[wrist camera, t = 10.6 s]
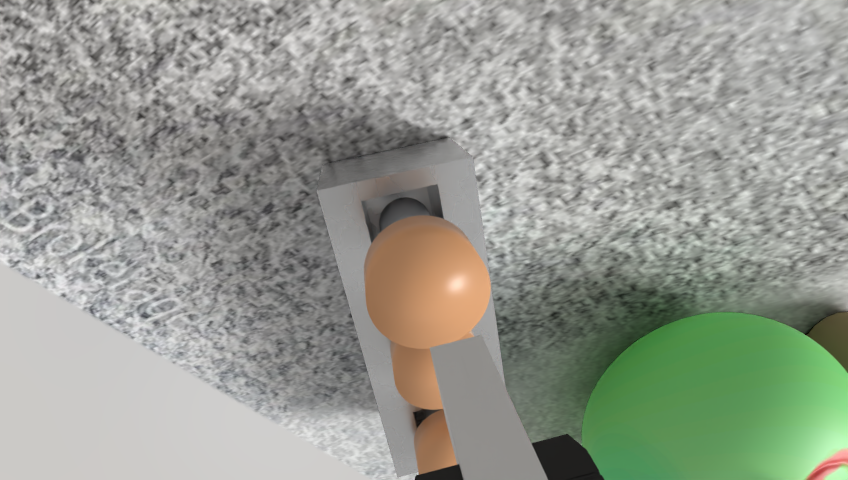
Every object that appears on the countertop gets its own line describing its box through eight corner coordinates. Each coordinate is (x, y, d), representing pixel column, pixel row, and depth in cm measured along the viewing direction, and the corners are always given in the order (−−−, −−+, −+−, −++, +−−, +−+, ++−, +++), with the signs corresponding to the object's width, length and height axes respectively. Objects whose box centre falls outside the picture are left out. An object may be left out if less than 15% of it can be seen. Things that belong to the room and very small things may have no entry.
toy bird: (702, 237, 35) (925, 354, 21) (784, 366, 41) (998, 520, 28) (513, 384, 37) (607, 572, 24) (618, 485, 44) (739, 680, 30)
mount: (322, 164, 29) (316, 190, 23) (449, 137, 29) (473, 156, 24) (390, 413, 36) (397, 477, 31) (489, 388, 37) (514, 446, 32)
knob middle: (376, 272, 31) (385, 345, 23) (446, 256, 31) (478, 323, 24) (391, 333, 33) (404, 418, 25) (457, 317, 33) (490, 397, 25)
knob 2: (397, 358, 34) (411, 448, 26) (462, 342, 34) (495, 427, 26) (410, 409, 36) (427, 508, 28) (471, 394, 36) (504, 487, 28)
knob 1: (351, 189, 24) (352, 252, 17) (440, 170, 25) (481, 223, 17) (371, 270, 26) (381, 361, 19) (454, 251, 27) (497, 332, 19)
